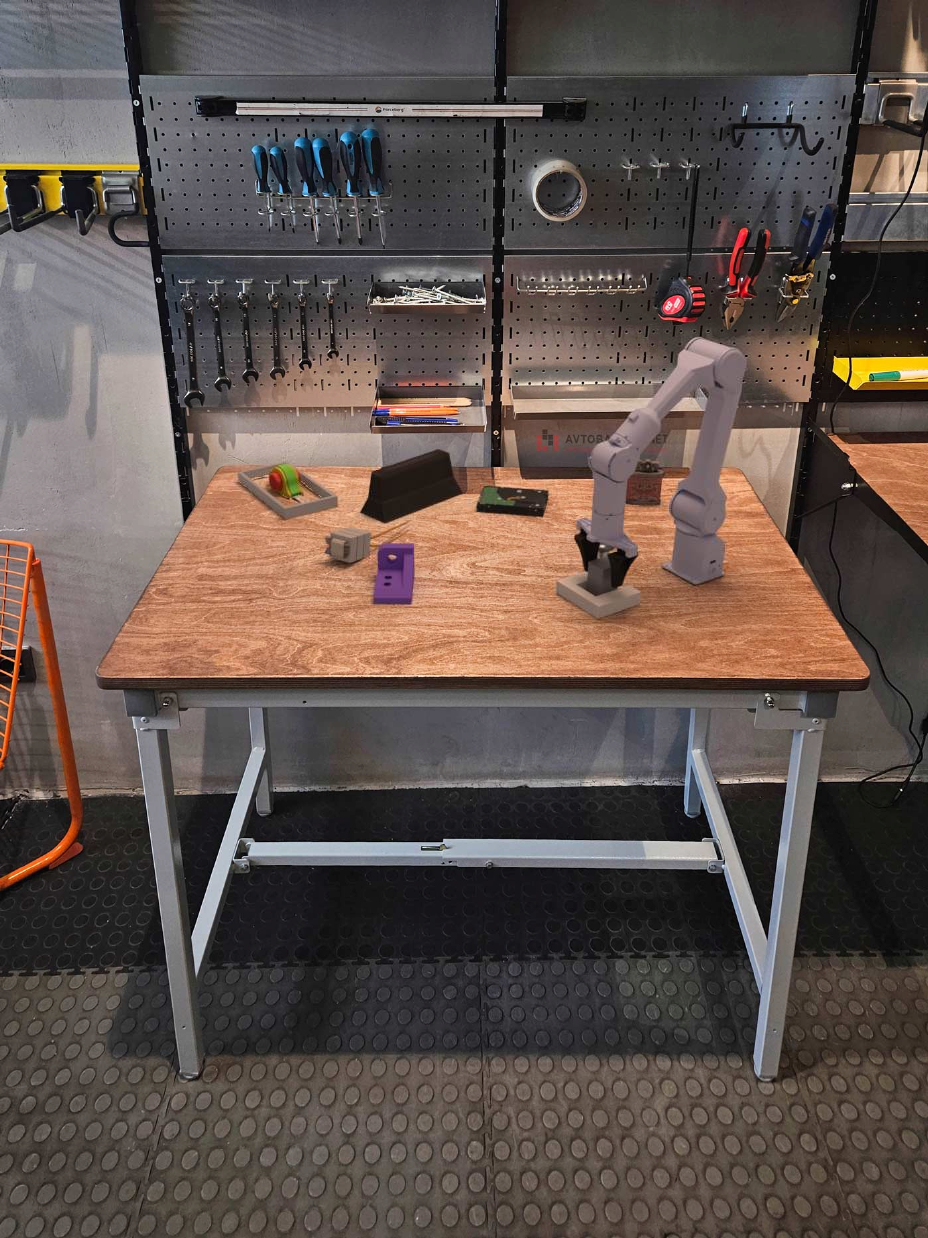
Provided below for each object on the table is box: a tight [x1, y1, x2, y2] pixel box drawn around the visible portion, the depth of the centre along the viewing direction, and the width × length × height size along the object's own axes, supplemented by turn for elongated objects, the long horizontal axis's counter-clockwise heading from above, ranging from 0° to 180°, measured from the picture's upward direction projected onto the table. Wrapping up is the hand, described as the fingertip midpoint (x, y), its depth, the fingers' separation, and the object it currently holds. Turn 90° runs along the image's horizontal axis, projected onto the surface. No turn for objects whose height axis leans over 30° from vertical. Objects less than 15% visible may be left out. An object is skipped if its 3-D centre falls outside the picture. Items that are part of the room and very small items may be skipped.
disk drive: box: [475, 485, 550, 518], centre depth 224 cm, size 10×3×15 cm
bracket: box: [373, 542, 416, 605], centre depth 189 cm, size 12×7×7 cm, turn 0°
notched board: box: [555, 570, 642, 620], centre depth 187 cm, size 12×10×2 cm
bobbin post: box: [597, 543, 616, 559], centre depth 195 cm, size 5×5×6 cm
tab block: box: [586, 557, 619, 596], centre depth 186 cm, size 4×4×7 cm
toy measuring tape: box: [268, 464, 311, 503], centre depth 227 cm, size 6×19×7 cm, turn 41°
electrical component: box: [324, 520, 415, 564], centre depth 207 cm, size 24×6×5 cm, turn 150°
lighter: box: [625, 458, 665, 507], centre depth 224 cm, size 8×3×10 cm, turn 84°
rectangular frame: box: [237, 460, 339, 520], centre depth 230 cm, size 26×13×2 cm, turn 34°
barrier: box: [359, 448, 464, 525], centre depth 224 cm, size 24×9×10 cm, turn 135°
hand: (603, 578), depth 186 cm, fingers open, 7 cm apart
